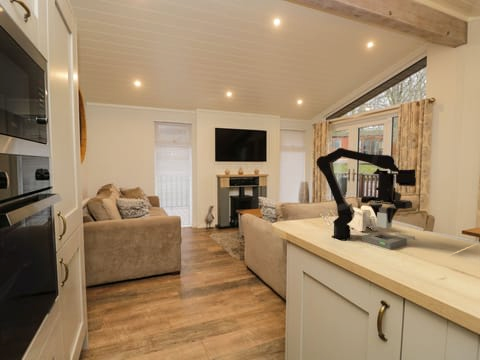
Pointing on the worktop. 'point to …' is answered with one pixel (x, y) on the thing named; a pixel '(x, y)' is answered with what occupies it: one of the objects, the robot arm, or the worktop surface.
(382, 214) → the plug
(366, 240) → the socket plate
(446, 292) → the worktop surface
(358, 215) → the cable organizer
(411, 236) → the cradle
